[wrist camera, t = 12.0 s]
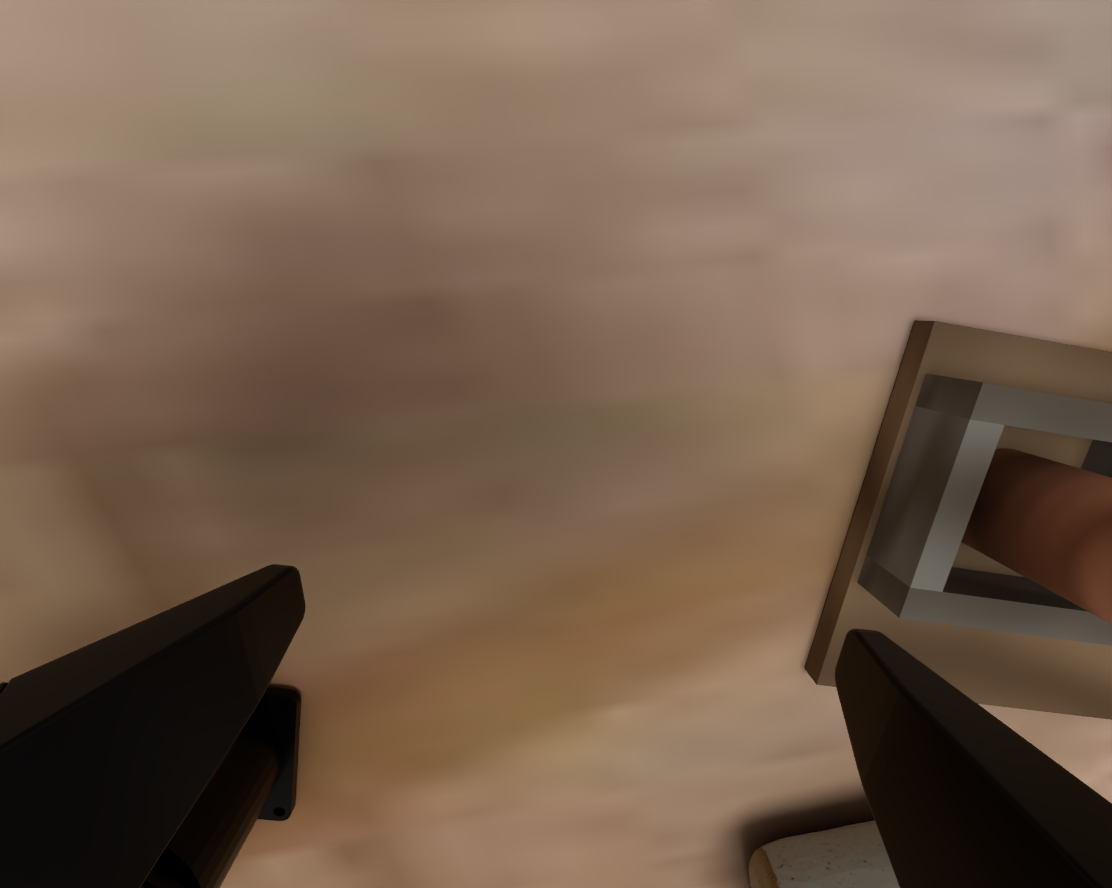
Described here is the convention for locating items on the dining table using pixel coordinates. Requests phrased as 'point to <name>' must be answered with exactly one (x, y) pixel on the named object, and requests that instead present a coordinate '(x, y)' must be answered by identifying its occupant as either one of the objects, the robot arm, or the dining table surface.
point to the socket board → (945, 509)
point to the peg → (1048, 526)
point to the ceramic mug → (825, 860)
